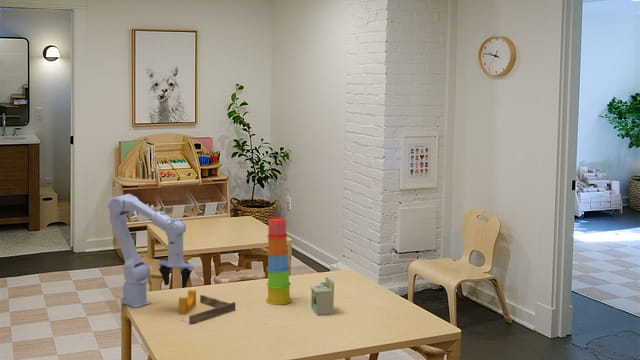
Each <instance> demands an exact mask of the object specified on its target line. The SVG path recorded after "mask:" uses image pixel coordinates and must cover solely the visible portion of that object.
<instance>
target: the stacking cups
mask: <svg viewBox="0 0 640 360" xmlns="http://www.w3.org/2000/svg"><path fill="white" fill-rule="evenodd" d="M267 224H268V225H267V226H268V227H267V228H268V234H267V239H268V241H267V243H268V248H267V251H266V252H267V253H266V254H267V256H268V257H267V260H268V261H267V263H268V264H267V267H266V270H267V273H268V274H267V282H266V286H267V298H266V303H268V304H270V305H275V306H278V305H279V306H283V305H286V304H290V303H291V302H292V298H291V297H290V291H291V290H290V286H292V285H291V282H290V272H289V270H290V266H289V258H288V257H289V256H288V254H289V250H288V239H287V238H288V234H287V227H286V225H287V224H286V219H285V218H284V217H270V218H269V219H268V223H267Z"/></svg>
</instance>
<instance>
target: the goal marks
mask: <svg viewBox="0 0 640 360" xmlns="http://www.w3.org/2000/svg"><path fill="white" fill-rule="evenodd" d="M205 307H206V308H209V309H213V308H214V307H213V306H210V305H205ZM172 318H175V319H178V320H181V321H183V322H188V320H187V319H184V318H181V317H178V316H176V315H172Z"/></svg>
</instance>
